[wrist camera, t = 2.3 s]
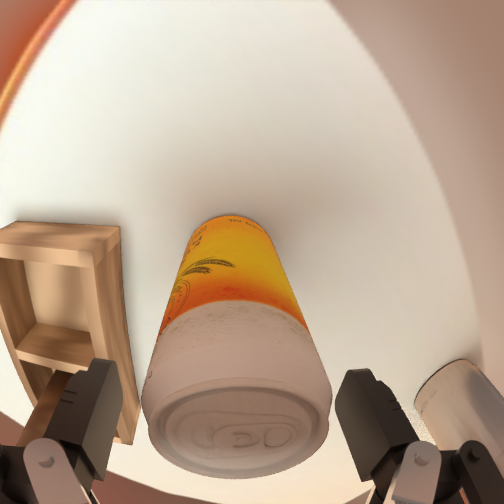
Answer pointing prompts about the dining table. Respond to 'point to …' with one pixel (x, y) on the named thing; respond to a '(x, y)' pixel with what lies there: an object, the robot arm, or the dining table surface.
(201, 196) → the dining table surface
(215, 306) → the beer can
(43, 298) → the caddy
